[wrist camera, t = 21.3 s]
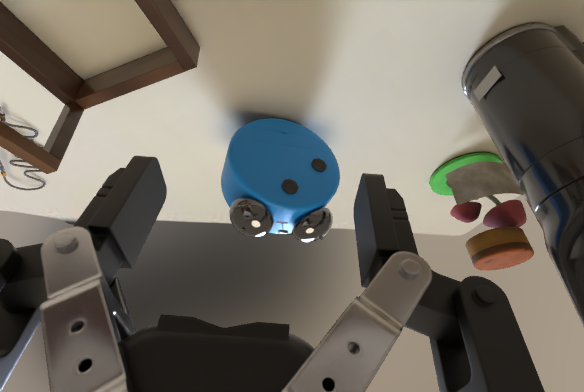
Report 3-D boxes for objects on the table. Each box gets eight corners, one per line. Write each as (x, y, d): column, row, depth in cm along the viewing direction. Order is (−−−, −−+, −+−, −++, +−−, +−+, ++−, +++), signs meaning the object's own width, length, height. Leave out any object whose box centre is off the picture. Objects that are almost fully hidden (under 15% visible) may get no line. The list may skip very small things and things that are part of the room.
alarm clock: (223, 140, 42) (215, 244, 34) (231, 104, 37) (224, 215, 29) (315, 156, 46) (328, 253, 38) (333, 126, 41) (353, 229, 33)
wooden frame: (97, -116, 21) (31, -48, 15) (200, 47, 31) (186, 129, 25) (-51, -30, 25) (-154, 54, 19) (84, 92, 35) (46, 174, 28)
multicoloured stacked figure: (494, 188, 56) (536, 270, 47) (420, 197, 57) (448, 279, 49) (525, 141, 46) (584, 235, 38) (435, 154, 47) (473, 248, 39)
